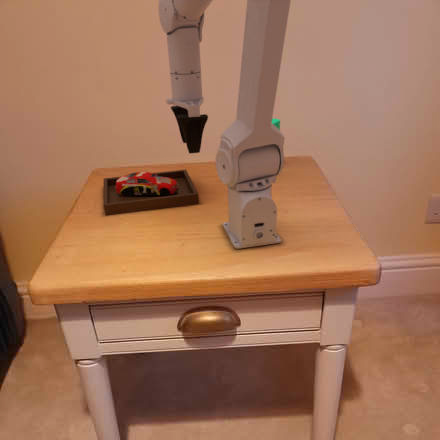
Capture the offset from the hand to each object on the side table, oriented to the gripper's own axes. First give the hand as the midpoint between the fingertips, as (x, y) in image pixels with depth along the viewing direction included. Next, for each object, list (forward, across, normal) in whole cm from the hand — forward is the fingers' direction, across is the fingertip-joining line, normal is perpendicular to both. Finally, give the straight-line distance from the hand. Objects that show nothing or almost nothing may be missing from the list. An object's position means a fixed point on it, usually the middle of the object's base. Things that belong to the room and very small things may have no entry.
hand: (191, 147), depth 86 cm
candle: (+10, -12, +20) cm, 25 cm away
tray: (+9, -1, -10) cm, 13 cm away
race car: (+9, -1, -10) cm, 13 cm away
